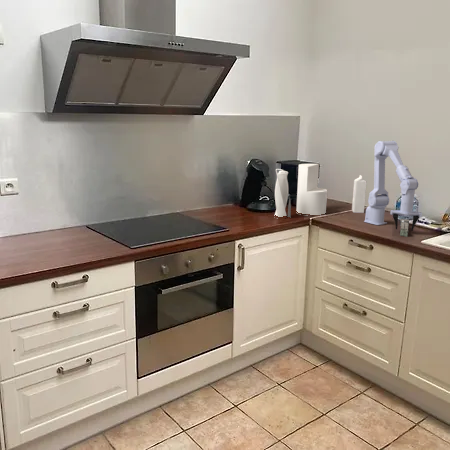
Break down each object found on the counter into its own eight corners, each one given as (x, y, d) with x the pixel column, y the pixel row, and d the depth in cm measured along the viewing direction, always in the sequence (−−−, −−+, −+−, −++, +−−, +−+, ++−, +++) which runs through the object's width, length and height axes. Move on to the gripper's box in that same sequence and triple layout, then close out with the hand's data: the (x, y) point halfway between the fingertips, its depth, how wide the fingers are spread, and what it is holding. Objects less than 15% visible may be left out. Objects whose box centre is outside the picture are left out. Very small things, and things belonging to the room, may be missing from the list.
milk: (361, 210, 279) (364, 174, 273) (364, 213, 273) (367, 176, 268) (351, 210, 279) (354, 174, 274) (353, 212, 273) (356, 175, 268)
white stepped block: (291, 213, 270) (293, 165, 263) (302, 208, 284) (305, 163, 277) (319, 217, 261) (322, 167, 254) (329, 211, 275) (333, 165, 268)
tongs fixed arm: (399, 224, 246) (400, 219, 245) (408, 225, 244) (409, 219, 244) (398, 235, 224) (399, 229, 223) (408, 236, 222) (409, 230, 222)
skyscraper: (278, 220, 254) (280, 169, 247) (270, 217, 261) (272, 168, 254) (291, 219, 257) (293, 169, 250) (283, 216, 264) (285, 167, 257)
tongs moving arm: (400, 225, 243) (401, 221, 242) (406, 226, 242) (407, 221, 241) (400, 235, 224) (400, 230, 223) (406, 236, 223) (406, 231, 222)
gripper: (391, 203, 225) (388, 230, 228) (423, 205, 219) (420, 233, 223) (391, 200, 231) (389, 226, 234) (422, 203, 226) (419, 229, 229)
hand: (404, 229), depth 229 cm, fingers open, 7 cm apart
